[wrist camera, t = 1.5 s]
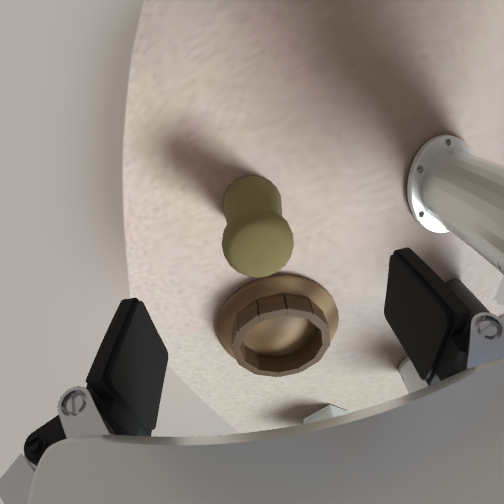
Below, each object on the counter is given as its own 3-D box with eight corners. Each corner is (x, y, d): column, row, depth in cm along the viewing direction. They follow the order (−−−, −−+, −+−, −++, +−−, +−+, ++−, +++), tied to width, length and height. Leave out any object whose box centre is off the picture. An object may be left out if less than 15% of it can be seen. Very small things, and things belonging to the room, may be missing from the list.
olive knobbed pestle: (279, 231, 30) (298, 290, 21) (223, 230, 30) (216, 290, 20) (283, 175, 28) (307, 212, 18) (222, 175, 27) (212, 211, 18)
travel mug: (391, 374, 45) (427, 461, 27) (407, 351, 42) (453, 442, 24) (415, 371, 45) (452, 450, 28) (431, 348, 42) (476, 430, 25)
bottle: (447, 274, 35) (525, 366, 17) (467, 283, 36) (537, 364, 18) (424, 309, 37) (487, 406, 20) (446, 315, 39) (505, 401, 21)
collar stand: (356, 288, 35) (367, 307, 31) (308, 368, 41) (313, 388, 38) (234, 261, 32) (234, 281, 28) (207, 354, 39) (205, 375, 35)
